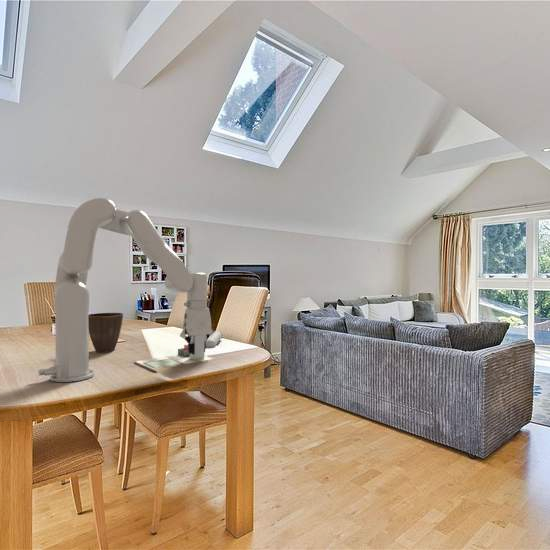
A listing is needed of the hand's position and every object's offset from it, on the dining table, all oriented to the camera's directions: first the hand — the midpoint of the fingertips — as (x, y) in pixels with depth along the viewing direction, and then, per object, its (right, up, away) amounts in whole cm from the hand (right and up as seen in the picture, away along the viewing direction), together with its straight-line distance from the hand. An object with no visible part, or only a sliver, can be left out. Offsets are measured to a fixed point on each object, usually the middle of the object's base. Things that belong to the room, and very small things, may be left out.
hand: (197, 352), depth 148 cm
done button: (-5, -1, +6) cm, 8 cm away
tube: (+1, -4, +34) cm, 35 cm away
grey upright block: (0, -2, 0) cm, 2 cm away
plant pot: (-44, -4, +20) cm, 49 cm away
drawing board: (-8, -3, -3) cm, 9 cm away
